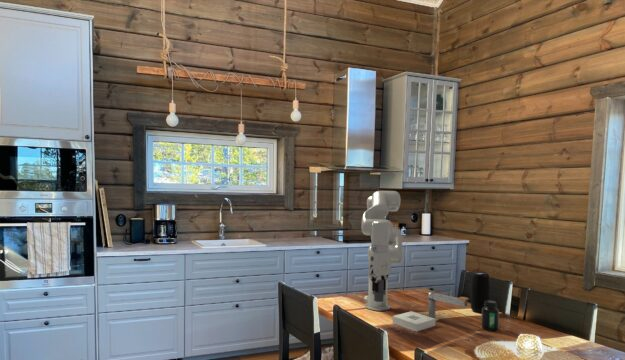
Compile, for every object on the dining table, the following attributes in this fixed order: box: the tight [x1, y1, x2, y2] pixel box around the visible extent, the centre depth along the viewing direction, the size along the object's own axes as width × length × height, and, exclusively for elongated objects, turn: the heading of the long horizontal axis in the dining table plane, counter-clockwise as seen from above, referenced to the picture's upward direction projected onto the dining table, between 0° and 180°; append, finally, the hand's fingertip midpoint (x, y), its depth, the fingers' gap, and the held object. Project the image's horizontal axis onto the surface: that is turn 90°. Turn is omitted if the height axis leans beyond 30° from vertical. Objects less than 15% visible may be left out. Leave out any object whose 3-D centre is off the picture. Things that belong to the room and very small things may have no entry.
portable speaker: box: [469, 270, 491, 314], centre depth 207 cm, size 9×9×20 cm
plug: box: [373, 279, 385, 302], centre depth 182 cm, size 6×6×9 cm
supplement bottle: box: [481, 299, 500, 332], centre depth 181 cm, size 7×7×12 cm
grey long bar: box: [427, 291, 470, 307], centre depth 184 cm, size 4×18×3 cm, turn 44°
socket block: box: [392, 298, 439, 332], centre depth 184 cm, size 13×22×10 cm, turn 128°
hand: (378, 290), depth 182 cm, fingers closed on plug, 4 cm apart
